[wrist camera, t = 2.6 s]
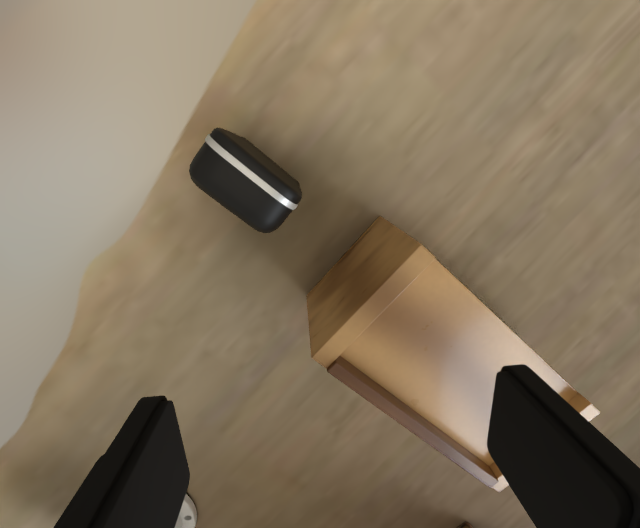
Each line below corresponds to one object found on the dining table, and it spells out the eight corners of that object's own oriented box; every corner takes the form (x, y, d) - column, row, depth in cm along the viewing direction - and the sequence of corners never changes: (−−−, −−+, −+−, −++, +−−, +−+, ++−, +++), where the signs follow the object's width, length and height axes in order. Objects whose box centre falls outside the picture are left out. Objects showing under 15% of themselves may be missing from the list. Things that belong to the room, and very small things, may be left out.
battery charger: (215, 169, 30) (169, 175, 19) (240, 134, 29) (207, 120, 18) (277, 217, 31) (268, 248, 21) (302, 185, 31) (306, 200, 20)
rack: (444, 403, 40) (501, 496, 29) (306, 295, 34) (311, 360, 23) (514, 340, 38) (604, 415, 27) (379, 215, 32) (423, 245, 21)
